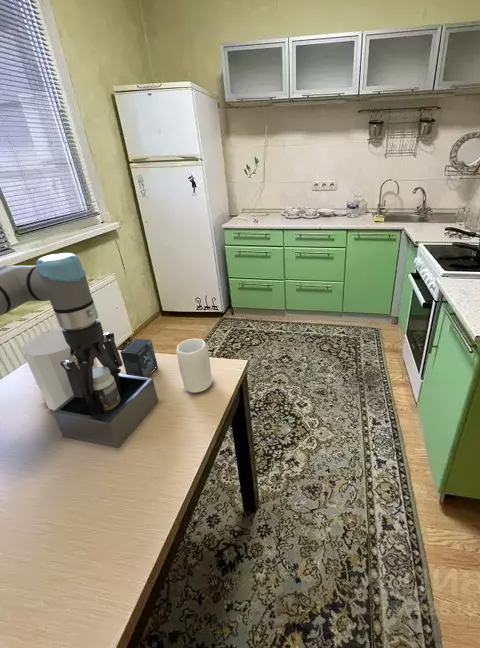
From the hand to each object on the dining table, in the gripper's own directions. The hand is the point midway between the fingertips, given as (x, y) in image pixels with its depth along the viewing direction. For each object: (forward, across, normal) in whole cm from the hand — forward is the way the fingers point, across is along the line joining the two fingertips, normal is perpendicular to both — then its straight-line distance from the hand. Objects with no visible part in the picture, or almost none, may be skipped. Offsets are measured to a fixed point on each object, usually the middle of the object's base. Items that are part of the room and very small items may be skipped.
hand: (108, 402), depth 82 cm
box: (+5, +18, +4) cm, 19 cm away
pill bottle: (+1, 0, 0) cm, 1 cm away
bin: (+5, 0, 0) cm, 5 cm away
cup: (+5, +16, -16) cm, 23 cm away
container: (+5, +6, +18) cm, 20 cm away
